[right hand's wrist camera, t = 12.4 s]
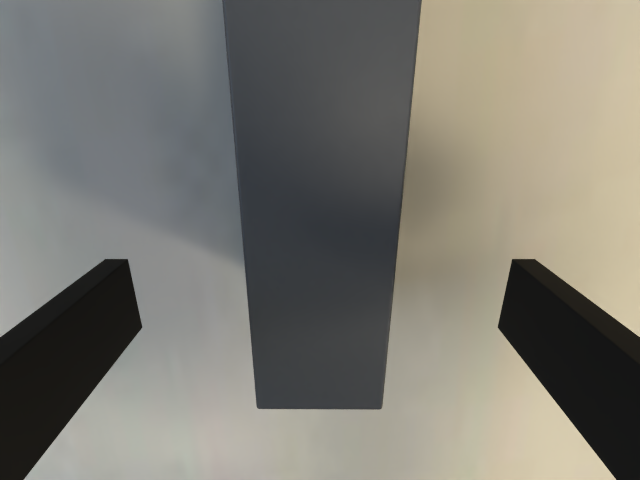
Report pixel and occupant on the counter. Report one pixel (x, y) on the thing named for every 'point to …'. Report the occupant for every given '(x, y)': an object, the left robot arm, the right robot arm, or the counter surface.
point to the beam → (320, 188)
